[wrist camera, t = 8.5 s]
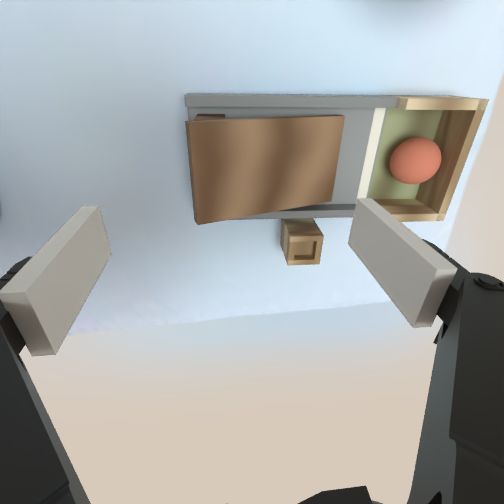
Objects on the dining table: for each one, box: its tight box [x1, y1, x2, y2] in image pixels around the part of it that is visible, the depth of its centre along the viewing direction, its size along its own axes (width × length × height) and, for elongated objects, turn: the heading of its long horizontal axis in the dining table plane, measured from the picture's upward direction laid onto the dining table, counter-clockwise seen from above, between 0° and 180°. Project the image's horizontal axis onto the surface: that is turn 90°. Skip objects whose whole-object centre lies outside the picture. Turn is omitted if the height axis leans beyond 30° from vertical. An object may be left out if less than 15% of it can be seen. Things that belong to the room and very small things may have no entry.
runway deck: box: [185, 93, 399, 220], centre depth 29 cm, size 18×11×3 cm, turn 89°
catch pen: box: [368, 95, 489, 222], centre depth 29 cm, size 7×11×4 cm, turn 179°
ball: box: [390, 137, 441, 184], centre depth 29 cm, size 4×4×4 cm
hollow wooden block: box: [281, 218, 324, 265], centre depth 33 cm, size 3×3×5 cm
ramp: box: [185, 114, 345, 225], centre depth 26 cm, size 14×8×6 cm, turn 89°
